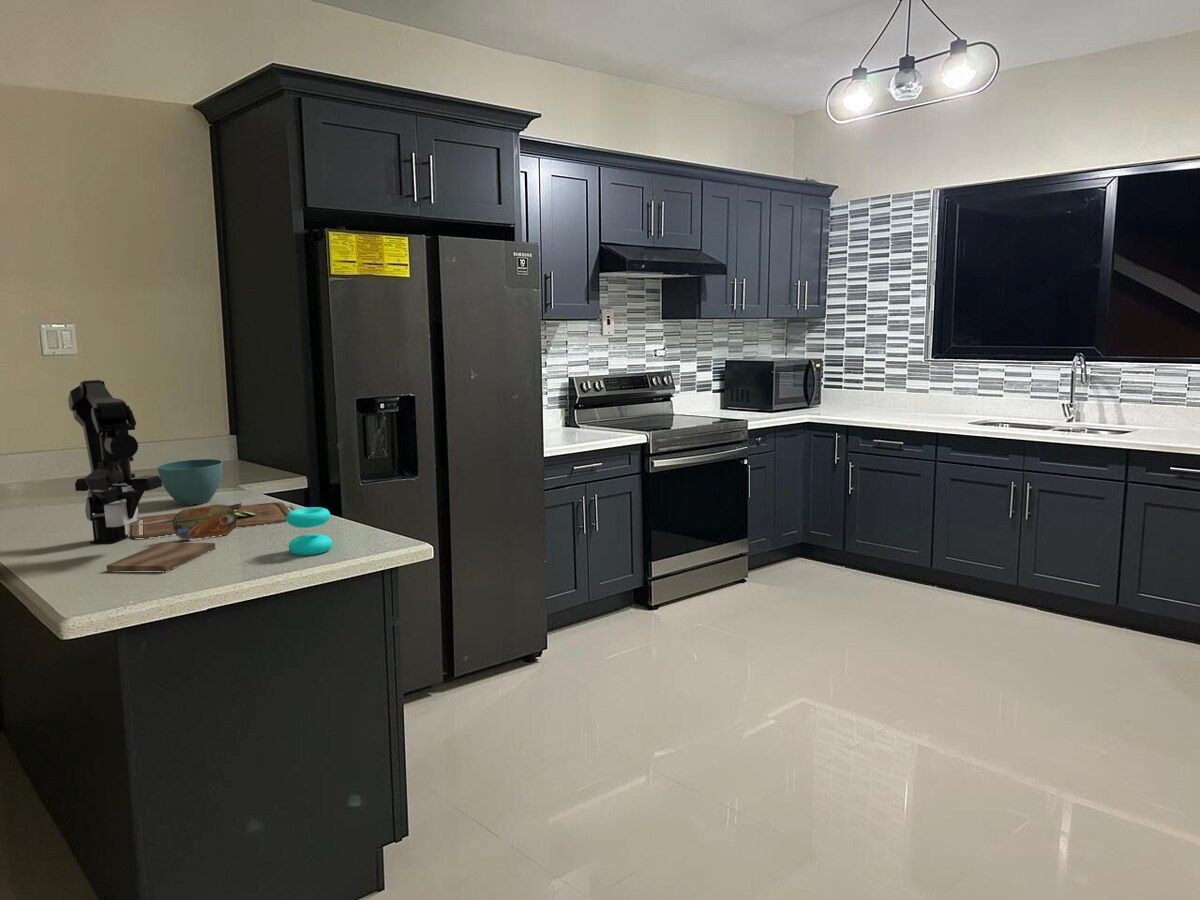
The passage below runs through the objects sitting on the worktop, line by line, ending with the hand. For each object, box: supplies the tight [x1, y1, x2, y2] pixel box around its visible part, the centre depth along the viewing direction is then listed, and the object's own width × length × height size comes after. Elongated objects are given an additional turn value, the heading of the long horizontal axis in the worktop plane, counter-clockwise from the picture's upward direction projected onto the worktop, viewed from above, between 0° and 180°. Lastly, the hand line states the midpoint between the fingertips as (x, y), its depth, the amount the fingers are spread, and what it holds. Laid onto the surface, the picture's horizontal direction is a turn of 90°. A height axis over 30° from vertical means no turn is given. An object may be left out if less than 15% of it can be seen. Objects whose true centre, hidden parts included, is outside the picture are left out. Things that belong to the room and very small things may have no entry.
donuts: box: [286, 506, 333, 556], centre depth 205 cm, size 10×10×10 cm
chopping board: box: [125, 501, 297, 539], centre depth 241 cm, size 45×27×3 cm, turn 118°
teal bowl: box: [157, 458, 224, 506], centre depth 265 cm, size 18×18×12 cm
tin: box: [173, 503, 237, 541], centre depth 221 cm, size 15×3×8 cm, turn 126°
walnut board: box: [106, 542, 216, 573], centre depth 201 cm, size 14×20×2 cm
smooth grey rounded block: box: [104, 499, 139, 527], centre depth 206 cm, size 4×9×5 cm, turn 174°
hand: (122, 518), depth 206 cm, fingers closed on smooth grey rounded block, 4 cm apart
